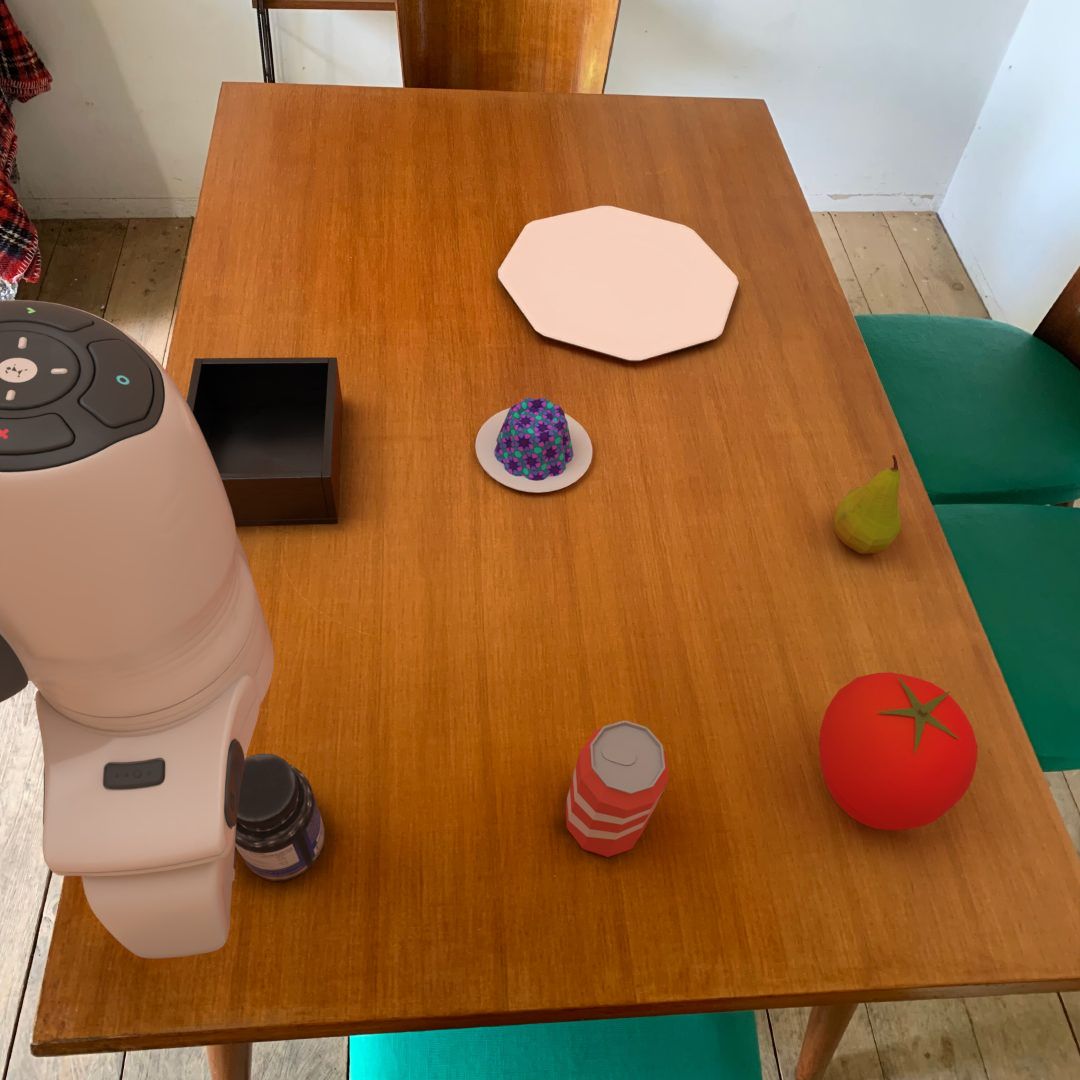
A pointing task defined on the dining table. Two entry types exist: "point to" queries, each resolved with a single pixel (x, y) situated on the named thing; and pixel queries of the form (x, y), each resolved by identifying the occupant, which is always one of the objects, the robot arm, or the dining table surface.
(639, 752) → the beverage can
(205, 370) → the open box
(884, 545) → the fruit
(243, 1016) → the dining table surface
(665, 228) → the plate
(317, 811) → the pill bottle
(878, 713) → the tomato
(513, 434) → the pudding
